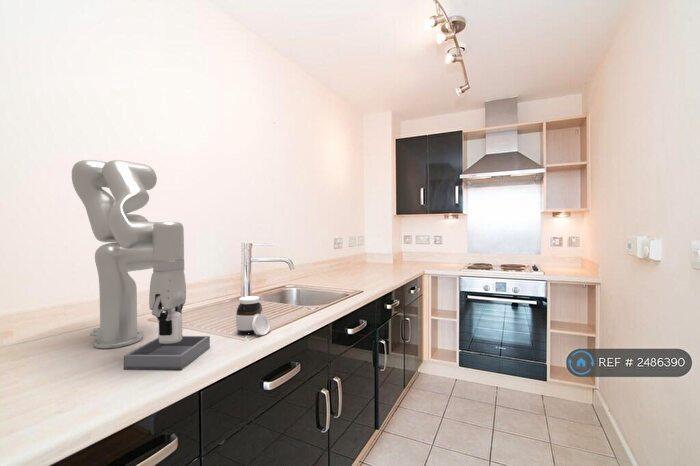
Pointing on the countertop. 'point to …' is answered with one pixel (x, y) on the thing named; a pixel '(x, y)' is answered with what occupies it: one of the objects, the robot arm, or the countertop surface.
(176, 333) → the eye dropper bottle
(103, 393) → the countertop surface
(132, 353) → the dish
